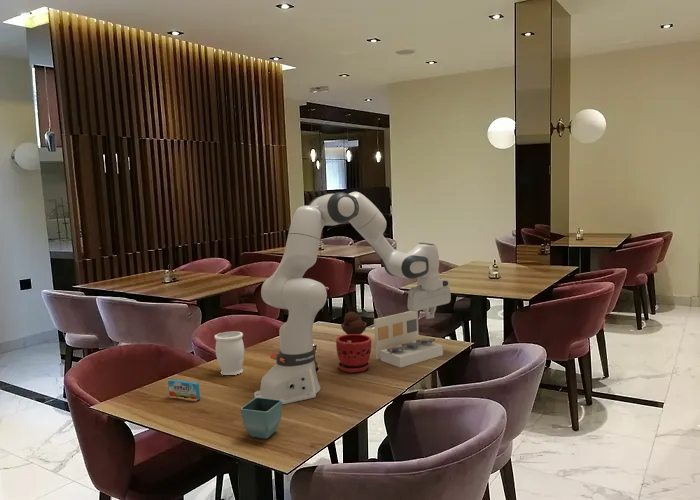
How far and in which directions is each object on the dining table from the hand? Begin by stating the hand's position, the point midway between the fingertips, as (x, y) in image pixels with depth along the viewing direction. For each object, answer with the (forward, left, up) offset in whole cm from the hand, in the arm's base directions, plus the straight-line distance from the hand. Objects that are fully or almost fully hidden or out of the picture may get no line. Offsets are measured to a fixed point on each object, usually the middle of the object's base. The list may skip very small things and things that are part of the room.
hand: (430, 318), depth 219 cm
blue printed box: (-92, +23, -15) cm, 96 cm away
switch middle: (-8, +3, -10) cm, 13 cm away
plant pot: (-32, +8, -15) cm, 36 cm away
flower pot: (-84, -20, -15) cm, 87 cm away
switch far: (0, +3, -10) cm, 10 cm away
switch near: (-15, +3, -10) cm, 18 cm away
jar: (-69, +37, -15) cm, 79 cm away
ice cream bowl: (-14, +33, -15) cm, 39 cm away
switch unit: (-8, +4, -15) cm, 17 cm away
